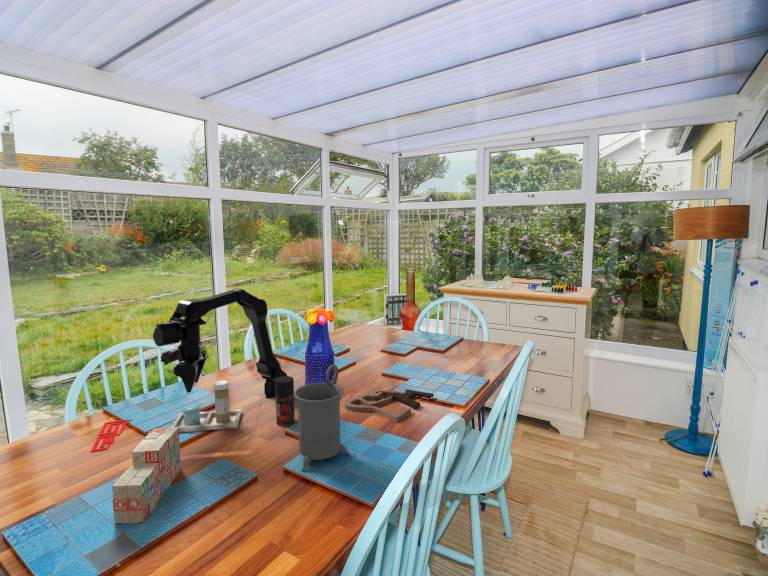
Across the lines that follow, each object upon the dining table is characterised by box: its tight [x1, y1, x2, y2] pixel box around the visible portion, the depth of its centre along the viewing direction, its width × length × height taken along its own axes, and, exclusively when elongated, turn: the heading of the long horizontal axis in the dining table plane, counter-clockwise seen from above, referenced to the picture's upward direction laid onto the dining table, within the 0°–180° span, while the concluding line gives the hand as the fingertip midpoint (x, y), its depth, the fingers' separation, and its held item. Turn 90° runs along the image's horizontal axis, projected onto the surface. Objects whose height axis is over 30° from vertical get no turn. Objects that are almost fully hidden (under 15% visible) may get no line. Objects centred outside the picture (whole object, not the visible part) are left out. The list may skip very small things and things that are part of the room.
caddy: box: [170, 408, 243, 433], centre depth 141 cm, size 20×11×2 cm, turn 101°
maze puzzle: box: [90, 419, 128, 453], centre depth 137 cm, size 20×20×1 cm
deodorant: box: [275, 375, 296, 427], centre depth 142 cm, size 6×6×15 cm
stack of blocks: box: [111, 427, 182, 524], centre depth 104 cm, size 21×6×12 cm, turn 4°
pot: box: [181, 403, 201, 426], centre depth 139 cm, size 5×5×6 cm
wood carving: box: [342, 389, 435, 423], centre depth 160 cm, size 28×2×24 cm
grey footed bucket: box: [294, 364, 351, 471], centre depth 121 cm, size 19×15×25 cm
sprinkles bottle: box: [213, 379, 231, 423], centre depth 141 cm, size 5×5×13 cm
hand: (192, 387), depth 138 cm, fingers open, 9 cm apart
